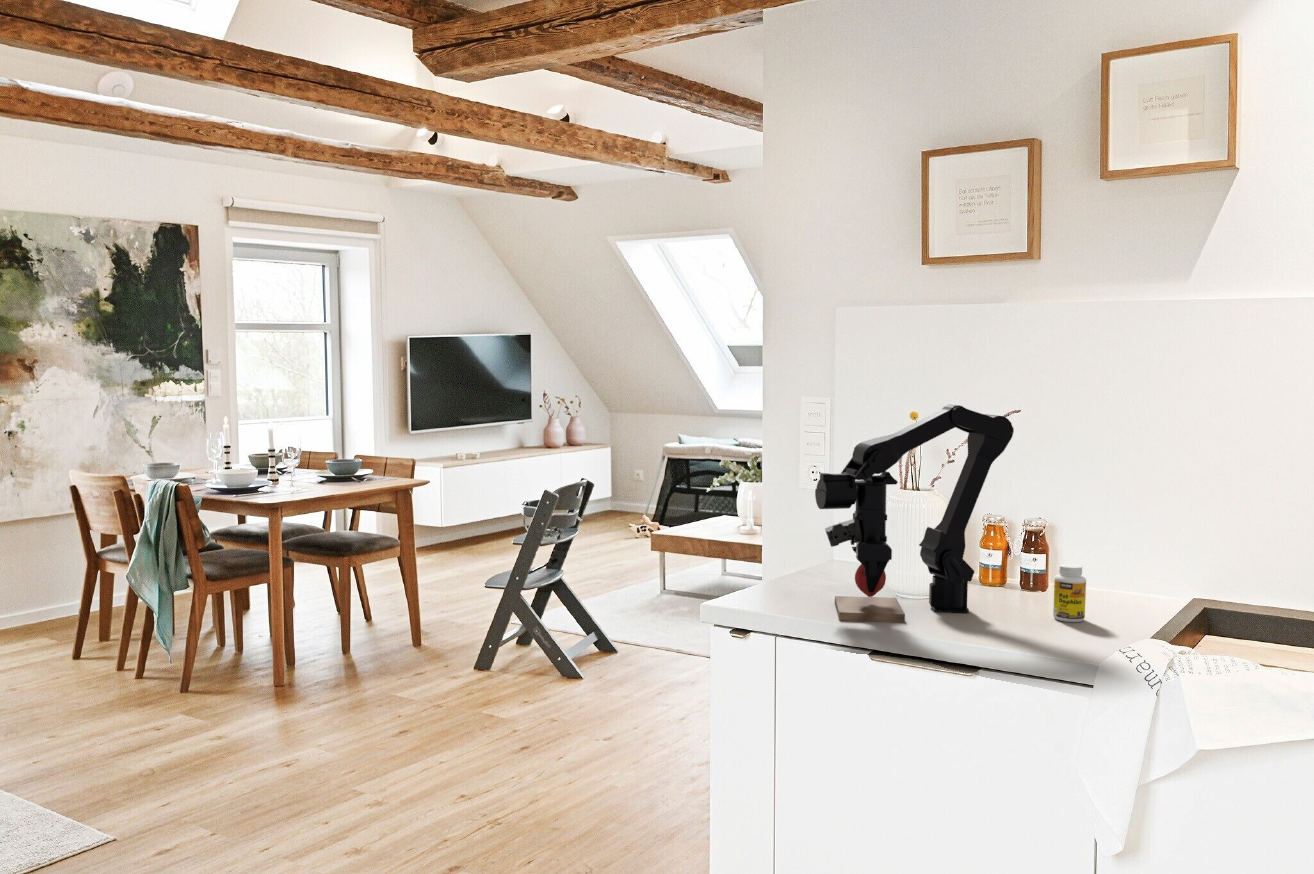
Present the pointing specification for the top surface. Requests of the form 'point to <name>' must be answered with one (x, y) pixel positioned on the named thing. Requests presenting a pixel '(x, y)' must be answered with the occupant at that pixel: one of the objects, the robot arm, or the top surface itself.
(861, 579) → the onion
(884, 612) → the walnut board
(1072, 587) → the supplement bottle
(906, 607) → the top surface
